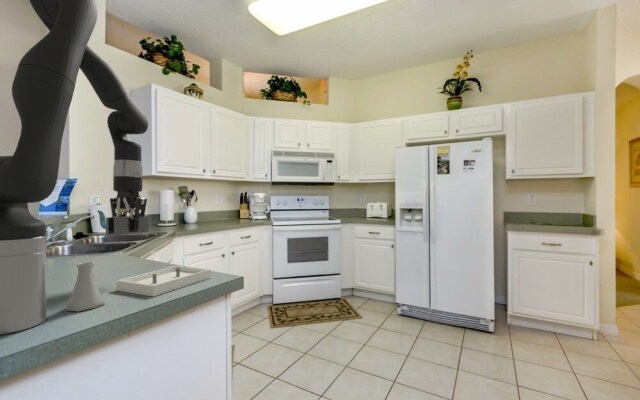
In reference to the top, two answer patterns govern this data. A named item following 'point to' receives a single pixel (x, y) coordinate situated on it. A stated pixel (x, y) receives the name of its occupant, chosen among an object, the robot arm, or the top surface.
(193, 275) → the tray
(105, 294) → the top surface
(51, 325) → the top surface
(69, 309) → the flask
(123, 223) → the block
